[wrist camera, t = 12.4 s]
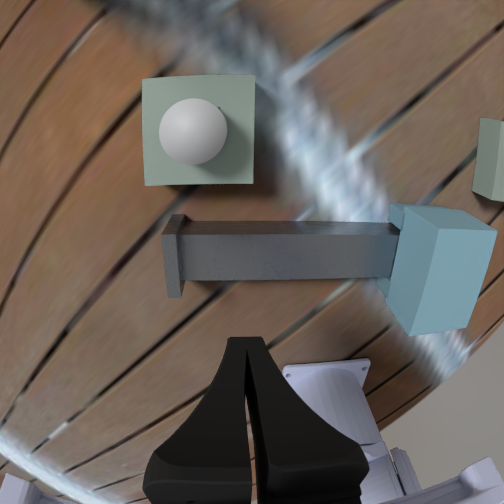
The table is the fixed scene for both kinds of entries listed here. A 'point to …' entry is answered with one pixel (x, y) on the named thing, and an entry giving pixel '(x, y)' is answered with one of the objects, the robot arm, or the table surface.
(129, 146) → the table surface
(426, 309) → the block
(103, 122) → the table surface
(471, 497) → the robot arm
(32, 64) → the table surface
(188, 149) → the green block white knob
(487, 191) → the green square holed block
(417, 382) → the table surface
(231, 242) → the rail
